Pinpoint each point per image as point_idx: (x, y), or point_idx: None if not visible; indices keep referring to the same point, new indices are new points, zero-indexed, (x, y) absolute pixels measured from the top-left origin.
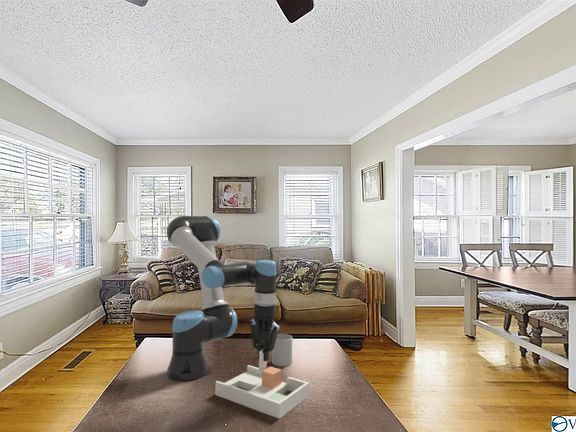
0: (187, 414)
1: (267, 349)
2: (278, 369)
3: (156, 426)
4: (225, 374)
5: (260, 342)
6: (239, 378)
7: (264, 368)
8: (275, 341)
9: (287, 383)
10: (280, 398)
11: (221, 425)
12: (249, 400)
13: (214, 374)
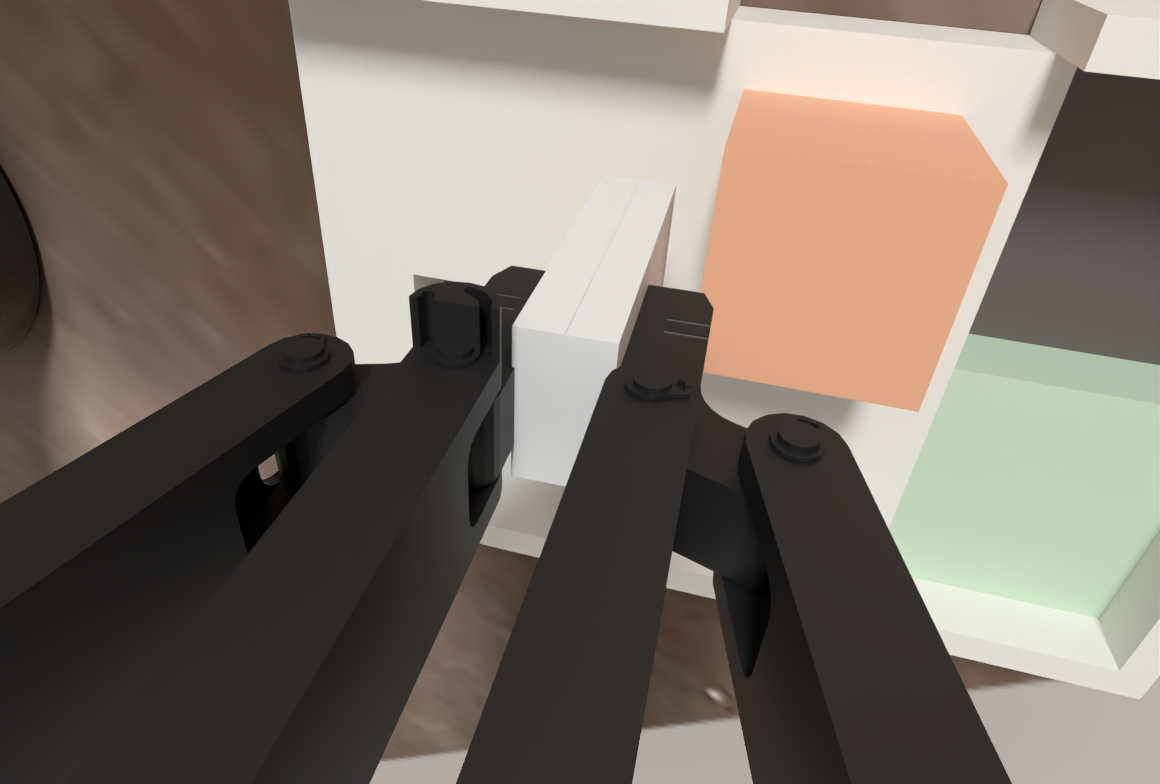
0: (446, 659)
1: (724, 585)
2: (938, 201)
3: (417, 750)
4: (96, 26)
5: (436, 621)
6: (379, 229)
7: (665, 251)
8: (955, 673)
9: (1064, 55)
10: (1066, 467)
11: (700, 707)
12: None
13: (31, 93)
